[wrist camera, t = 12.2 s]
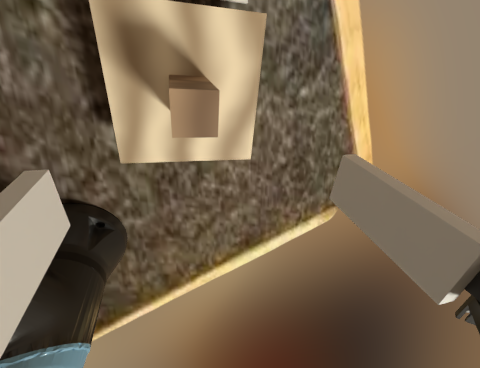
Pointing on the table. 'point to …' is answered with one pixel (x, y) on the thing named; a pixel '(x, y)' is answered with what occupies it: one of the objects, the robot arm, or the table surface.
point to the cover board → (178, 52)
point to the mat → (238, 1)
